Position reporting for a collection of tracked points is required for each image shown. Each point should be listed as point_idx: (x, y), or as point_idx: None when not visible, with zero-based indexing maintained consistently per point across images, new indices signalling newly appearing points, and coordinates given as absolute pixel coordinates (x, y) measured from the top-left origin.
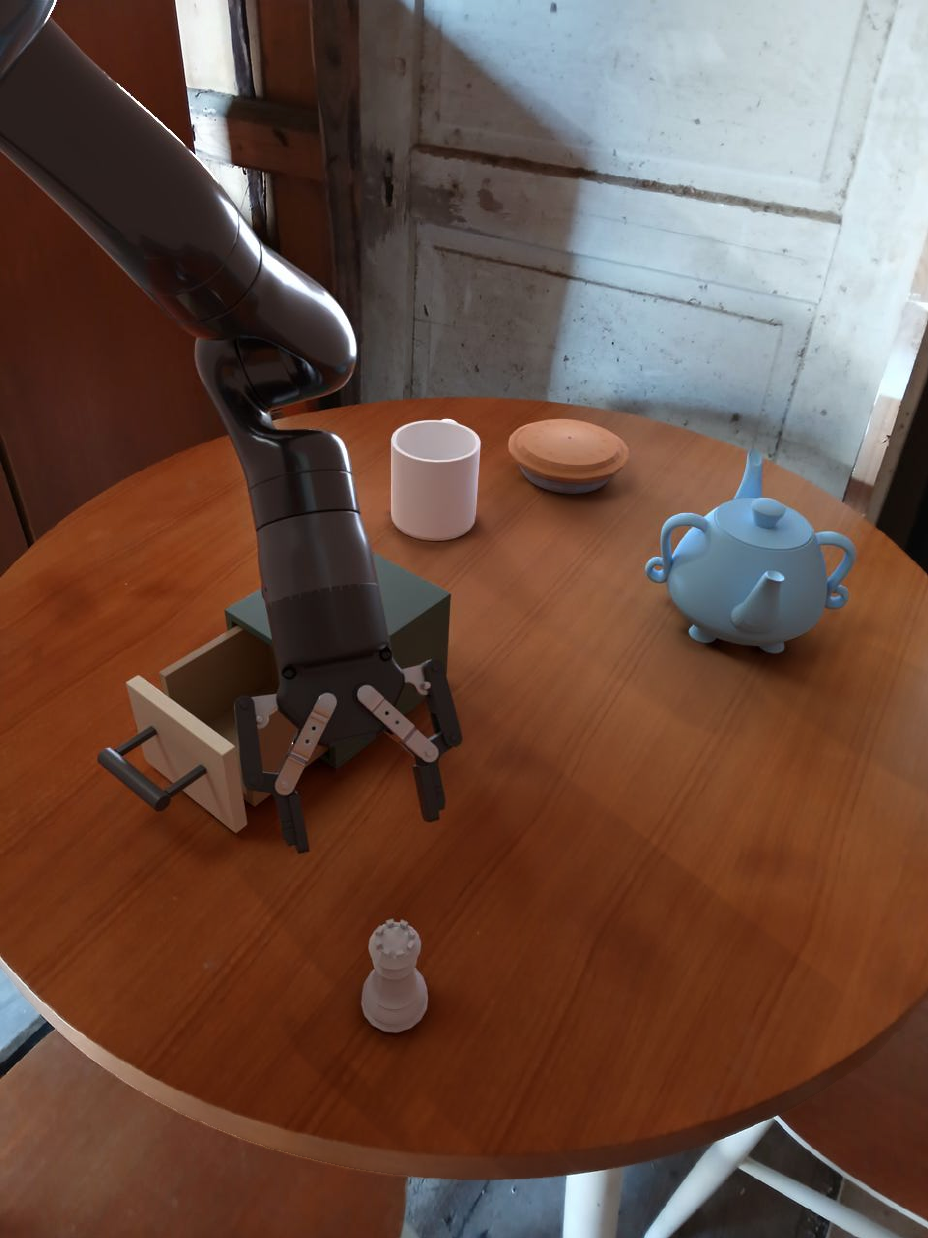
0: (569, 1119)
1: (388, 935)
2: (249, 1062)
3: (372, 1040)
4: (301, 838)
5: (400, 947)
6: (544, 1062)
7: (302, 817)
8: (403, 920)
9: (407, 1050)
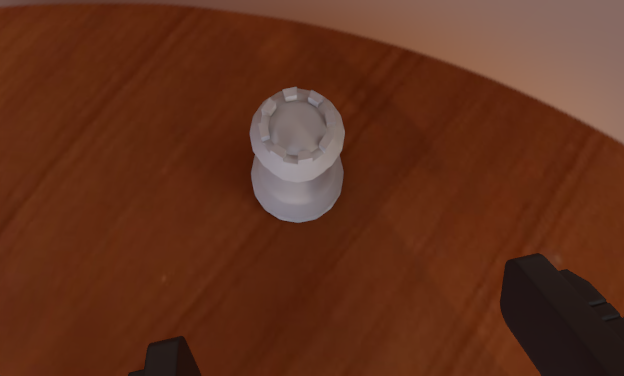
0: (104, 25)
1: (309, 134)
2: (478, 123)
3: None
4: (546, 276)
5: (288, 108)
6: (115, 88)
7: (569, 323)
8: (278, 156)
9: None
